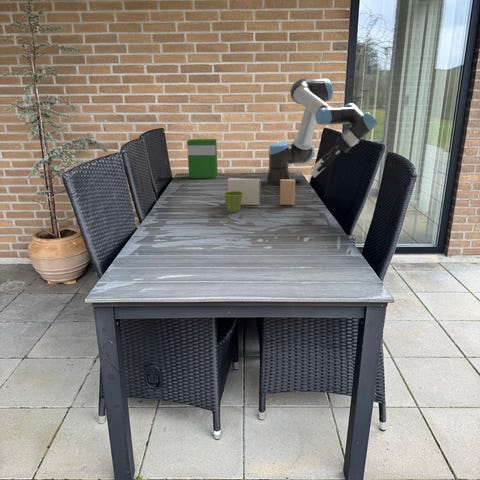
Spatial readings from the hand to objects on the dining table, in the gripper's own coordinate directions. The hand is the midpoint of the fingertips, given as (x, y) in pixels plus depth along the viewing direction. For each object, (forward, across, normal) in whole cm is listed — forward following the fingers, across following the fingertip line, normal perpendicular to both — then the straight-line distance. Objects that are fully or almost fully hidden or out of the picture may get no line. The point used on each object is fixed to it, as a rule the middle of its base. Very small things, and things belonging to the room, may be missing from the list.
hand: (312, 172), depth 216 cm
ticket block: (+35, -1, +12) cm, 37 cm away
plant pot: (+37, -15, +14) cm, 43 cm away
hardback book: (+63, +63, +38) cm, 96 cm away
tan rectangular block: (+20, -1, -3) cm, 20 cm away
